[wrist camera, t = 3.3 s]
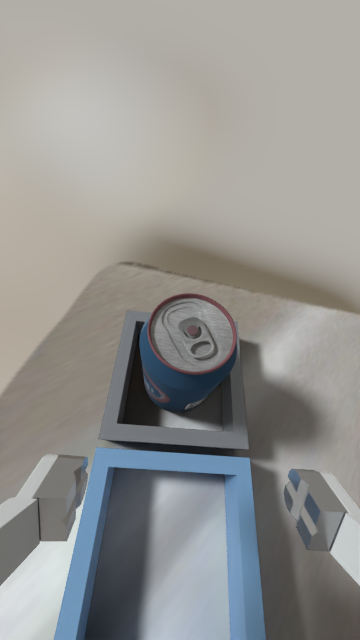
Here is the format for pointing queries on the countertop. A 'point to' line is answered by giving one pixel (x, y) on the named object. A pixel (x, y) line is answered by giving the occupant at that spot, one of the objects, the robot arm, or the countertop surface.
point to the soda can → (186, 350)
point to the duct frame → (236, 470)
